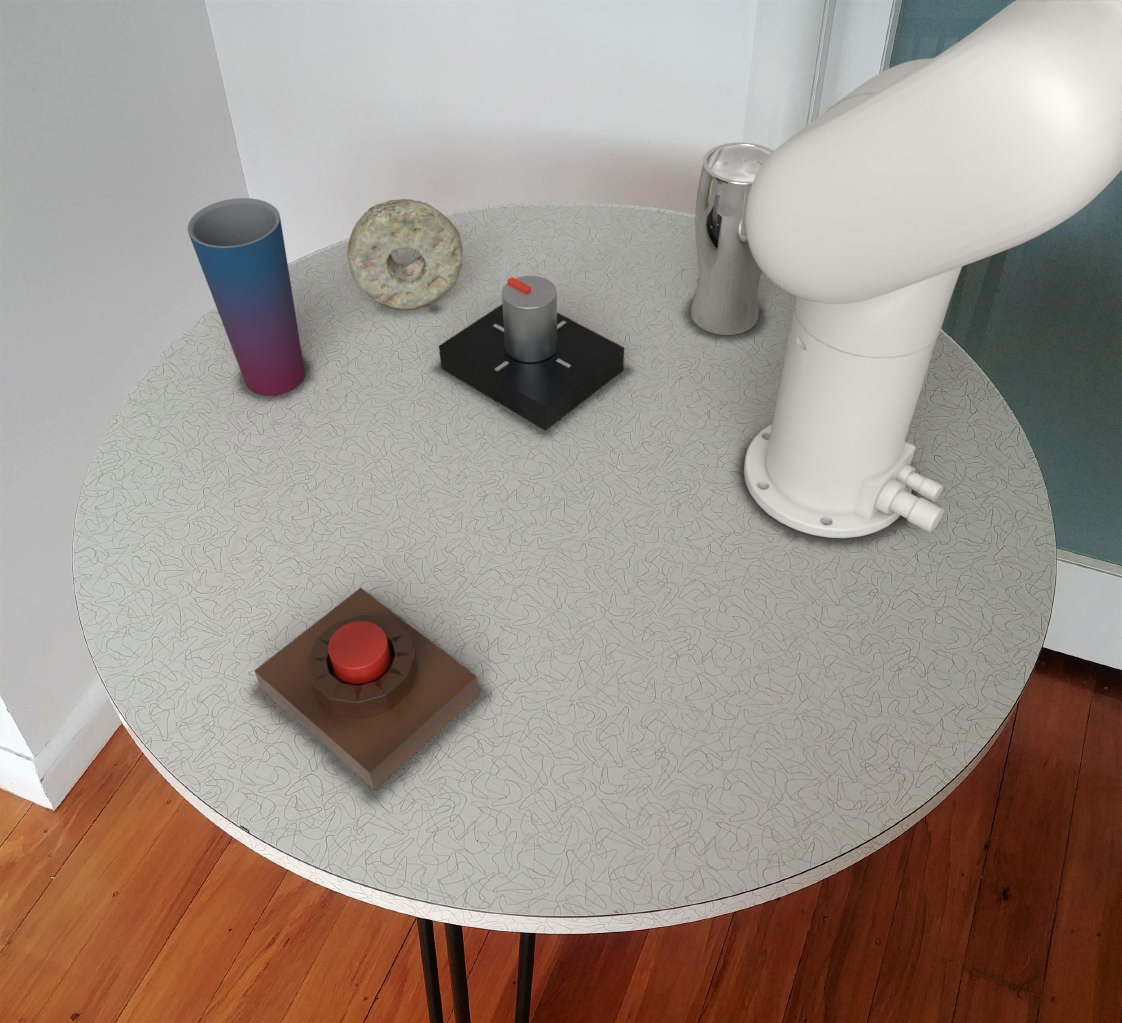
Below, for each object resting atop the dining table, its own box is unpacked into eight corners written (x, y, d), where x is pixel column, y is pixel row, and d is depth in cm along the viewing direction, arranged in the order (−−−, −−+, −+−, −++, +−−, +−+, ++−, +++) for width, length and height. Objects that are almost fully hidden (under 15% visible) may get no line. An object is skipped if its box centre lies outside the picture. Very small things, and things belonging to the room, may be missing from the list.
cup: (276, 413, 87) (234, 257, 76) (217, 384, 90) (167, 229, 79) (331, 368, 91) (298, 214, 80) (273, 342, 94) (233, 189, 83)
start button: (402, 658, 66) (399, 641, 65) (359, 695, 64) (354, 678, 63) (364, 627, 68) (360, 611, 66) (320, 663, 66) (315, 646, 65)
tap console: (623, 370, 91) (624, 346, 89) (545, 431, 86) (544, 406, 84) (520, 315, 96) (519, 290, 94) (441, 368, 91) (438, 344, 89)
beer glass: (725, 349, 92) (746, 194, 81) (669, 313, 96) (682, 160, 85) (779, 317, 95) (806, 164, 84) (722, 283, 99) (741, 132, 88)
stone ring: (355, 317, 96) (337, 219, 89) (356, 294, 98) (339, 197, 91) (467, 309, 97) (458, 212, 89) (466, 287, 99) (457, 190, 92)
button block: (479, 695, 68) (475, 659, 66) (374, 791, 64) (365, 757, 61) (365, 606, 73) (356, 569, 71) (261, 689, 69) (247, 654, 66)
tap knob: (568, 344, 89) (567, 286, 85) (533, 369, 87) (530, 311, 83) (529, 323, 91) (527, 266, 87) (494, 347, 89) (490, 290, 85)
